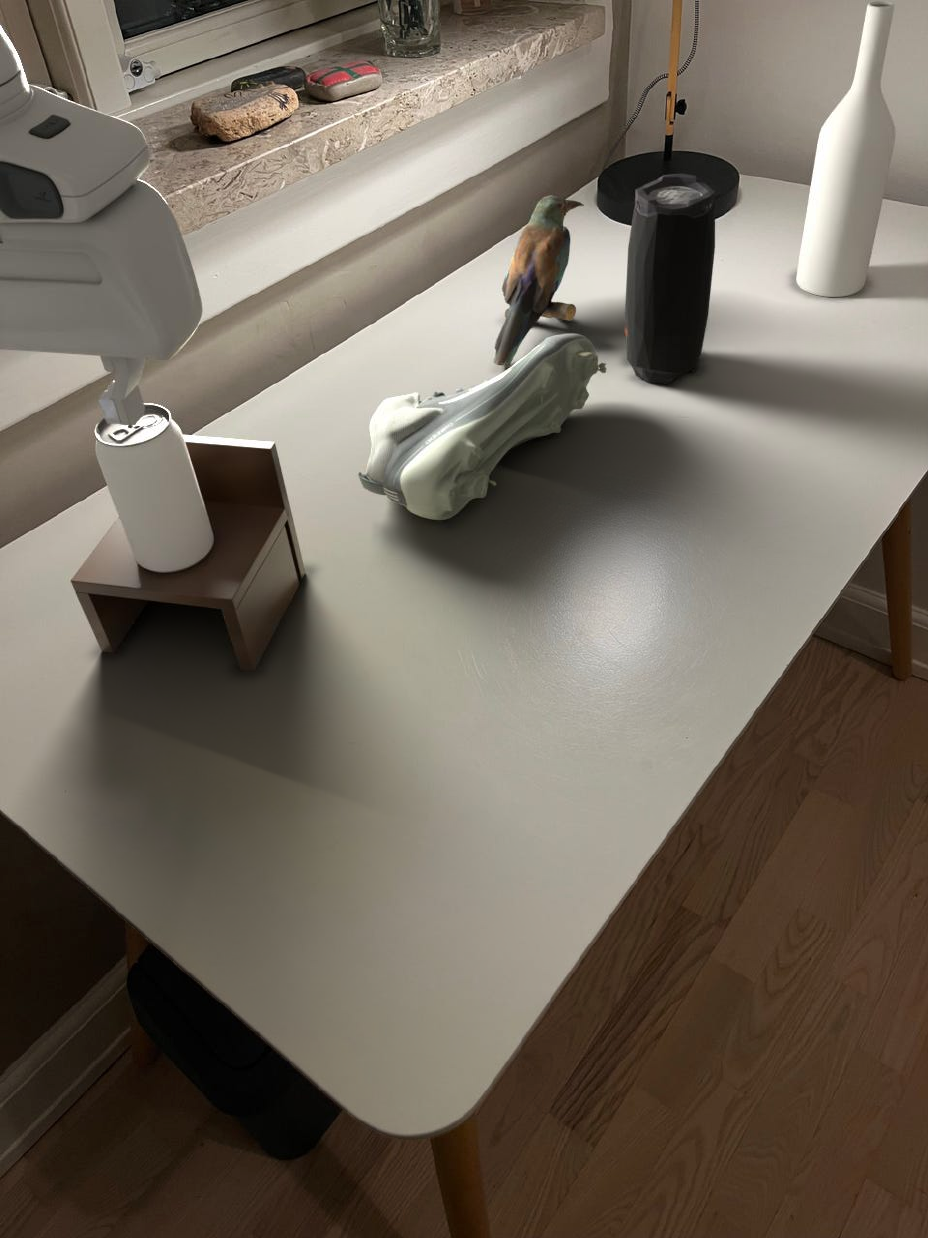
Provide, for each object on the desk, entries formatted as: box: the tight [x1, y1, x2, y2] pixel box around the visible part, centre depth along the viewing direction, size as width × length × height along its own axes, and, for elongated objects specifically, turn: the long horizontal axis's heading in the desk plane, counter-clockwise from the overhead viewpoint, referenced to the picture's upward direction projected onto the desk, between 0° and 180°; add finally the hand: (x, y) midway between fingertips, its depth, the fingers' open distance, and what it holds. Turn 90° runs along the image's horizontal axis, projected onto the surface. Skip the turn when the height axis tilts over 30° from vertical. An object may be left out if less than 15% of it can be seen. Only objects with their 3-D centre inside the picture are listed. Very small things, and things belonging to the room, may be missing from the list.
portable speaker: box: [624, 173, 717, 385], centre depth 107 cm, size 9×9×20 cm
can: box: [93, 403, 214, 573], centre depth 80 cm, size 6×6×12 cm
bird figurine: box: [493, 194, 585, 369], centre depth 118 cm, size 13×10×20 cm
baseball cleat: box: [357, 333, 607, 521], centre depth 102 cm, size 10×29×15 cm
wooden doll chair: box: [70, 434, 306, 672], centre depth 85 cm, size 14×12×14 cm
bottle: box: [795, 0, 896, 298], centre depth 115 cm, size 8×8×30 cm
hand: (49, 412), depth 56 cm, fingers open, 8 cm apart
